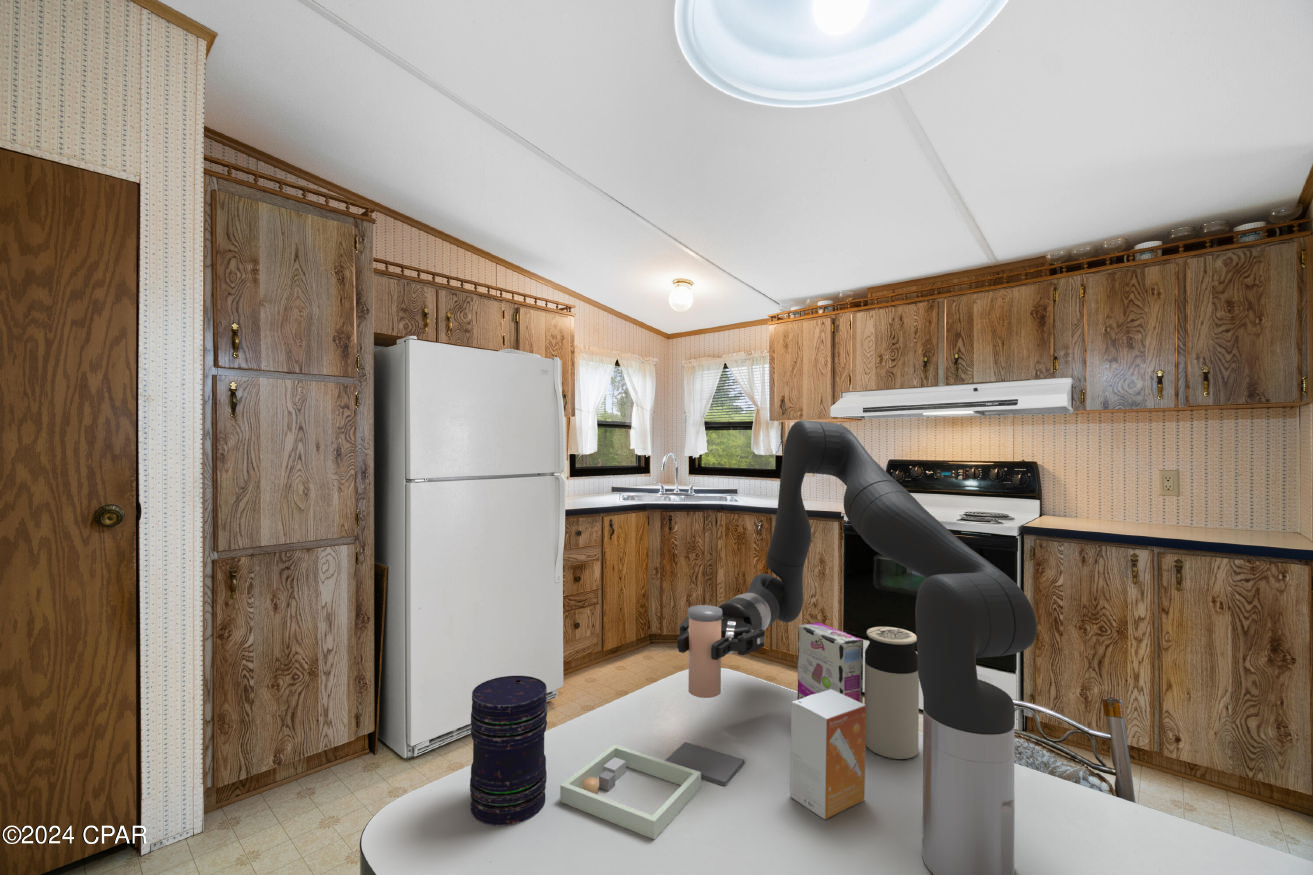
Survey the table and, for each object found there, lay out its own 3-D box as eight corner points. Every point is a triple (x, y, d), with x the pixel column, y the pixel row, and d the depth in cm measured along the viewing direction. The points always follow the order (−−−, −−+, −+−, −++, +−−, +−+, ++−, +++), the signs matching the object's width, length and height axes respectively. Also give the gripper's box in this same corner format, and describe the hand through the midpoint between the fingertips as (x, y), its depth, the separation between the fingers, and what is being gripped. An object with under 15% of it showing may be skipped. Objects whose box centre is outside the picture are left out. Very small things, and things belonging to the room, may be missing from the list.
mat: (744, 763, 90) (744, 759, 90) (725, 785, 84) (725, 781, 84) (685, 745, 95) (685, 741, 95) (663, 765, 89) (663, 761, 89)
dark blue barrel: (530, 830, 74) (531, 708, 74) (455, 821, 75) (456, 702, 75) (556, 784, 84) (557, 677, 84) (489, 778, 85) (490, 672, 85)
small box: (825, 821, 76) (826, 718, 76) (788, 796, 81) (789, 700, 81) (866, 801, 81) (867, 703, 81) (829, 778, 86) (829, 687, 86)
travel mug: (929, 752, 94) (930, 636, 94) (896, 766, 89) (897, 645, 89) (885, 730, 100) (886, 623, 100) (853, 743, 96) (854, 630, 96)
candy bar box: (864, 741, 97) (865, 639, 97) (840, 747, 95) (841, 643, 95) (818, 712, 107) (819, 620, 107) (795, 717, 105) (796, 623, 105)
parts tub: (700, 787, 83) (701, 772, 83) (654, 839, 72) (654, 821, 72) (614, 758, 91) (614, 744, 91) (560, 801, 80) (560, 784, 80)
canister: (727, 688, 90) (727, 608, 90) (712, 701, 86) (713, 616, 86) (696, 681, 93) (697, 603, 93) (681, 693, 89) (682, 611, 89)
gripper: (704, 591, 105) (654, 615, 91) (783, 603, 98) (743, 632, 83) (703, 633, 105) (654, 665, 91) (782, 649, 98) (742, 686, 83)
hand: (697, 649), depth 87 cm, fingers closed on canister, 4 cm apart
